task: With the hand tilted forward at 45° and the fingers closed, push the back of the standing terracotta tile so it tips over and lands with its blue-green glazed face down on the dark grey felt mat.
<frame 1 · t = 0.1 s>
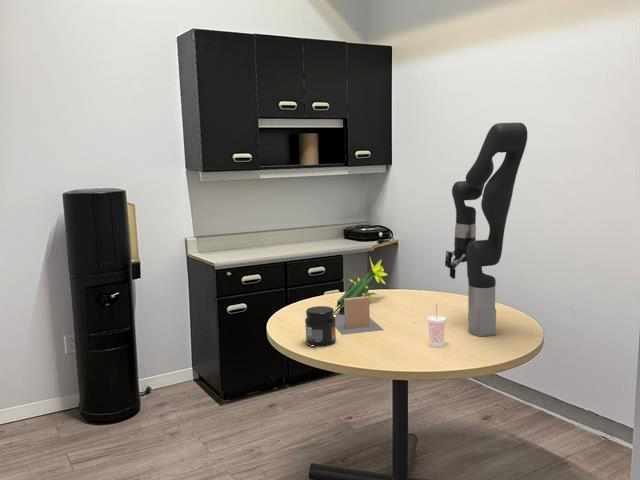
hand: (463, 277, 221), 17 cm above the table, tool pointing down, fingers open, 8 cm apart
beverage cup: (436, 344, 201), on the table
supplement container: (321, 343, 206), on the table
daffodil flowers: (360, 306, 250), on the table, touching felt mat
felt mat: (352, 323, 227), on the table
tile: (357, 326, 221), resting on felt mat
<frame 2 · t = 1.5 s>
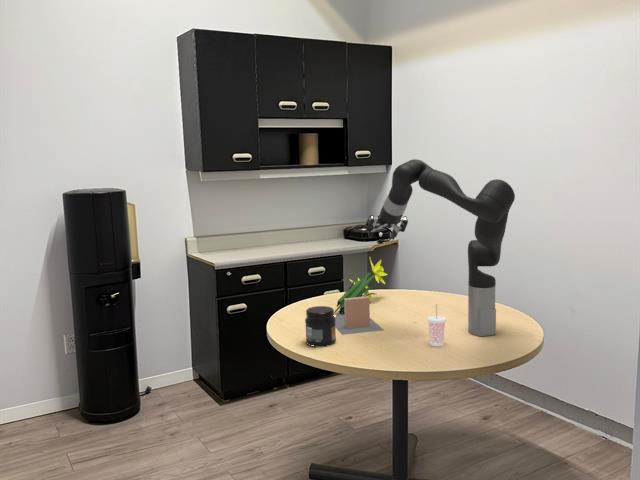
hand: (381, 236, 214), 34 cm above the table, tool tilted 45°, fingers open, 8 cm apart
nothing on the table moved.
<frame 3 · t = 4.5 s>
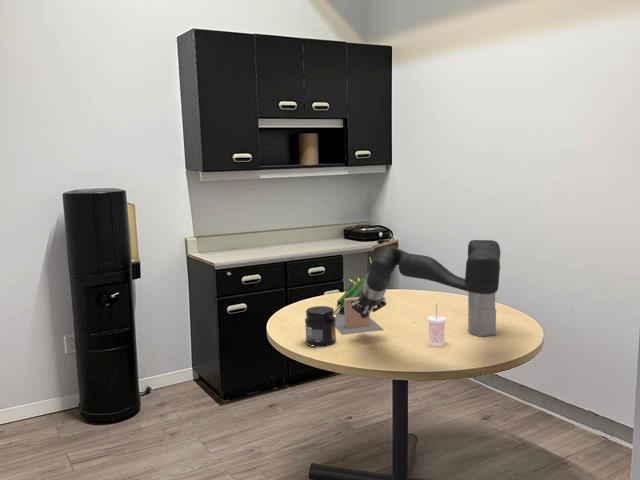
hand: (363, 315, 211), 7 cm above the table, tool tilted 45°, fingers closed
nothing on the table moved.
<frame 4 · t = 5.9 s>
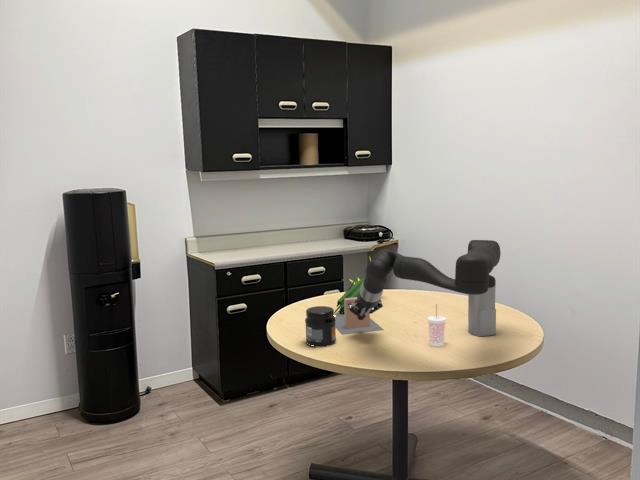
hand: (360, 317, 214), 6 cm above the table, tool tilted 45°, fingers closed
nothing on the table moved.
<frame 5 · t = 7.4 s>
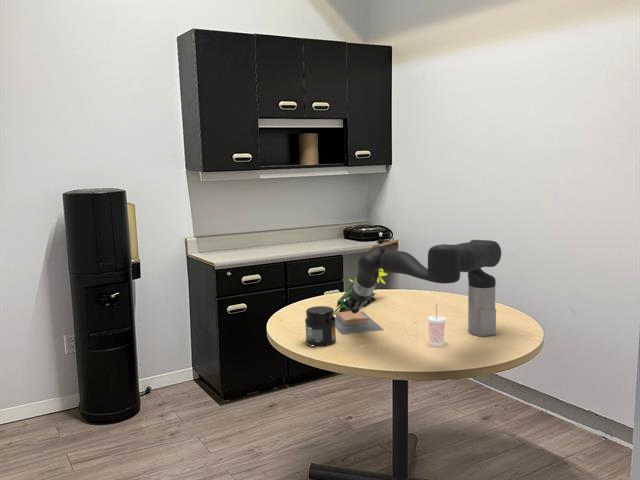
hand: (354, 311, 222), 6 cm above the table, tool tilted 45°, fingers closed
tile: (356, 321, 222), point 2 cm above the table, tilted 90°, touching felt mat
everything else where it was.
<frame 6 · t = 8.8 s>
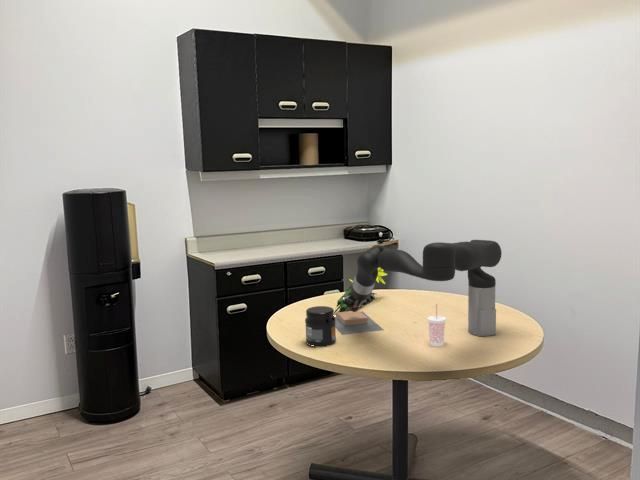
hand: (354, 309, 224), 6 cm above the table, tool tilted 45°, fingers closed
nothing on the table moved.
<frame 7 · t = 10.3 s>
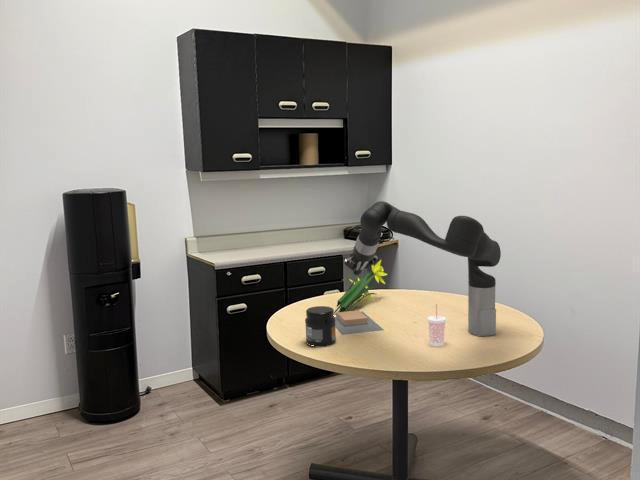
hand: (356, 273, 216), 21 cm above the table, tool tilted 45°, fingers closed
nothing on the table moved.
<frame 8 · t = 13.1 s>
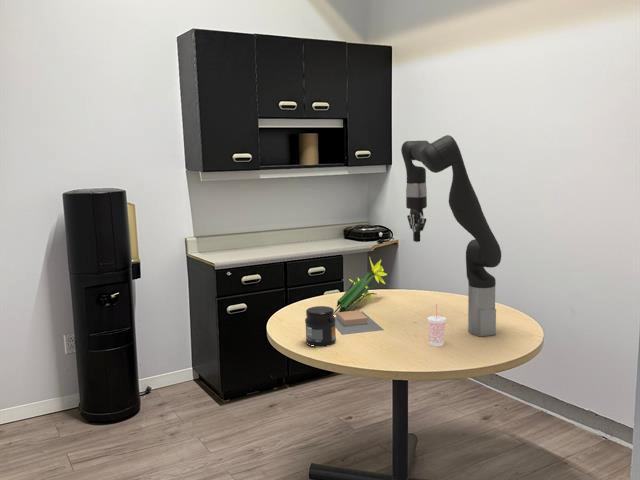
hand: (416, 241, 221), 31 cm above the table, tool pointing down, fingers closed
nothing on the table moved.
at the end: tile tilted 90°; tile inside the target area (5.3 cm from its centre), point 1.9 cm above the table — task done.
